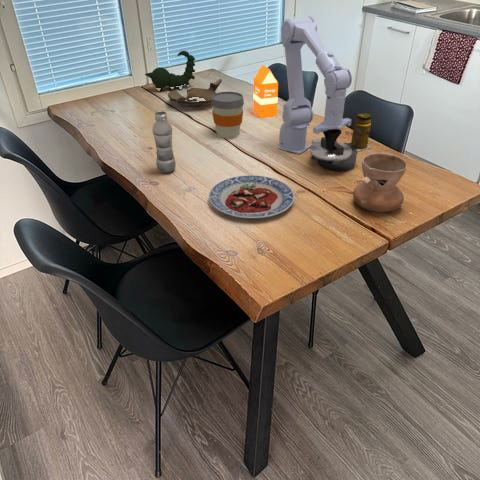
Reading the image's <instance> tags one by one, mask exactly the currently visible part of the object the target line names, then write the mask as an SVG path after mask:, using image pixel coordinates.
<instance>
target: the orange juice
mask: <svg viewBox="0 0 480 480" xmlns="http://www.w3.org/2000/svg"><path fill="white" fill-rule="evenodd" d="M278 92H279V82H278V80H277V79H276V78H275V76H274V74H273V73H272V71H271V69H270V68H269V67H266V66H265V65H264V64H261V66H260V67H259V69H258V70H257V73H256V74H255V76H254V78H253V93H252V94H253V99H252V101H253V103H252V105H253V107H252V108H253V109H252V111H254V112H255V113H256V114H257V115H258V116H259V117H260V118H263V119H267V118H266V117H271V118H275V117H274V116H278V115H277V114H278V100H279V99H278V98H279V97H278V96H279V94H278ZM255 113H254V114H255ZM256 114H255V115H256ZM257 115H256V116H257ZM258 116H257V117H258ZM259 117H258V118H259ZM260 118H259V119H260Z"/></svg>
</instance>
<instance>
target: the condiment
mask: <svg viewBox="0 0 480 480" xmlns="http://www.w3.org/2000/svg"><path fill="white" fill-rule="evenodd" d="M371 120H372V115H371V114H369V113H366V112H360V113H357V114H356V116H355V121H354V123H353V129H352V136H351V142H348V143H349V144H353V145H352V146H353V147H354V148H356V150H357V152H360V151H364V150H367V149H371V148H373V146H372V145H370V144H368V143H369V139H370V138H369V137H370V132H371V127H372V123H371V122H372V121H371Z"/></svg>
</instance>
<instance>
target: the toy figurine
mask: <svg viewBox="0 0 480 480" xmlns="http://www.w3.org/2000/svg"><path fill="white" fill-rule="evenodd" d="M180 56H184V57H185V58H186V63H185V64H186V65H185V69H184V72H183V74H181V75H180V74H177V75H176V74H175V73H172V72H171V73H170V72H169V70H168V69H166V68H164V67H161V66H159V67H156V68H154V69H153V70H152V71H151V72H148V73H146V72H145V73H144V76H146V77H147V78H149V79H150V80H151V82H152V84H153V85H154V86H155V87H156V88H162V89H163V88H165V87H166V88H167V86H169V87H174V86H181V85H183V86H186V85H189V84H190V85H191V83H190V80H195V77H196V76H195V75H193V73H196V69H194V67H196V63H195V61H196V58H195V57H194V56H193V55H192V54H189V52H188V50H187V51H186V50H180V51H179V52H178V54H177V57H180ZM184 84H186V85H184ZM169 87H168V88H169ZM156 88H155V89H156Z"/></svg>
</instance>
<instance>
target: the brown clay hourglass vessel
mask: <svg viewBox="0 0 480 480" xmlns="http://www.w3.org/2000/svg"><path fill="white" fill-rule="evenodd" d="M407 167H408V163H407V161H406V160H405V159H404V158H402V157H401V156H399V155H397V154H392V153H389V152H373V153H372V152H371V153H368V154H366V155H365V156H363V157H362V160H361V168H362V169H361V170H362V174H363V178H361V179H360V183H359V184H357V185H356V186H355V187H354V189H353V191H352V197H353V200H354V201H355V203H356V205H358V206H359V207H360V208H362V209H364V210H367V211H370V212H375V213H388V212H393V211H395V210H397V209H398V208H400V207H401V206H402V204H403V203H404V200H405V198H404V197H405V196H404V193H403V191H402V190H401V189H400V187H398V186H397V184H398V183H399V182H400V180H401V179H402V178H403V176H404V174H405V173H406V170H407Z"/></svg>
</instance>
